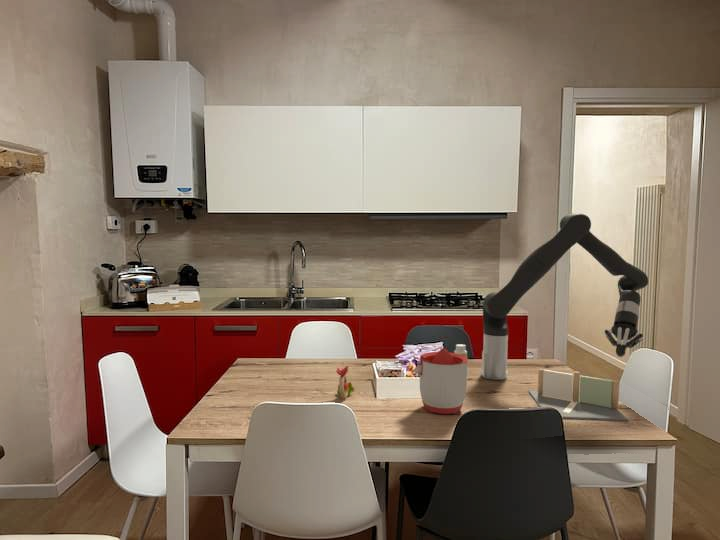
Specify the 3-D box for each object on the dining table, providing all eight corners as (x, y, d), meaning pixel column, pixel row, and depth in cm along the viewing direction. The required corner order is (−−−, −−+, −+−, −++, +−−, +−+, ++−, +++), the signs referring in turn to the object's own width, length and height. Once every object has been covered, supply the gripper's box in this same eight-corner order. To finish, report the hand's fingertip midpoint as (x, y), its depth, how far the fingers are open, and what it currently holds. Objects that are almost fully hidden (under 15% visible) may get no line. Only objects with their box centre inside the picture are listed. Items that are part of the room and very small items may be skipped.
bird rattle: (353, 405, 177) (355, 387, 185) (351, 380, 172) (354, 363, 180) (335, 405, 178) (337, 387, 186) (333, 380, 173) (336, 362, 180)
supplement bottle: (467, 366, 220) (468, 344, 219) (466, 370, 214) (466, 347, 214) (454, 365, 221) (455, 343, 220) (452, 368, 216) (453, 346, 215)
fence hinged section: (578, 402, 174) (580, 376, 173) (580, 400, 175) (581, 375, 175) (617, 409, 167) (618, 382, 166) (618, 407, 169) (619, 381, 168)
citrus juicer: (411, 400, 177) (412, 342, 175) (462, 401, 177) (464, 343, 175) (414, 417, 162) (415, 353, 160) (470, 418, 161) (472, 354, 159)
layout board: (548, 418, 162) (548, 415, 161) (528, 392, 186) (528, 390, 186) (628, 421, 160) (628, 418, 160) (598, 394, 184) (598, 392, 184)
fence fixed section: (579, 401, 176) (580, 372, 175) (577, 402, 174) (579, 373, 173) (538, 393, 183) (539, 365, 182) (536, 395, 182) (538, 366, 181)
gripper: (606, 308, 193) (598, 346, 184) (646, 311, 185) (640, 352, 176) (608, 320, 197) (600, 358, 188) (647, 324, 190) (641, 364, 181)
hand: (620, 355), depth 182 cm, fingers closed
